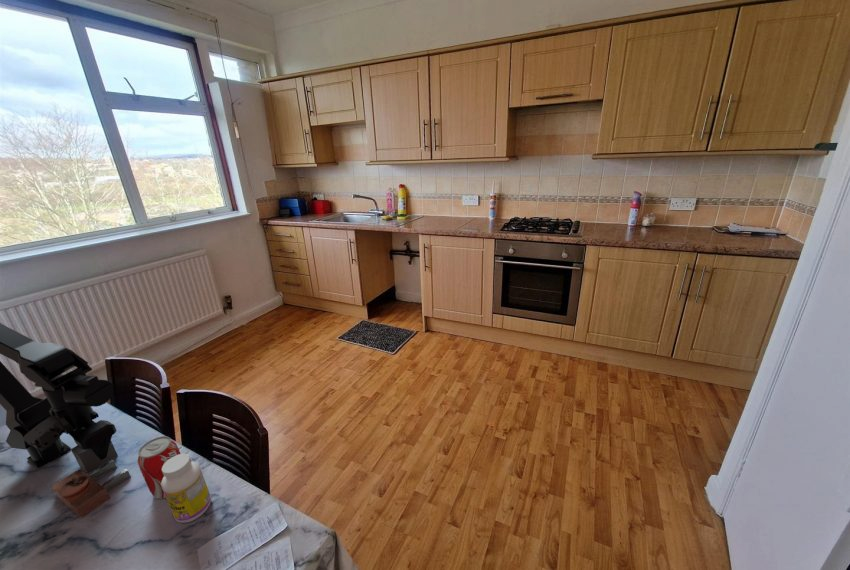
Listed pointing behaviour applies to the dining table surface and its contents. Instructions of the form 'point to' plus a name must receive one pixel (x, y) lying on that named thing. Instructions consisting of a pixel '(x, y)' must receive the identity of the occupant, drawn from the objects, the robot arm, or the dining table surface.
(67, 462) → the dining table surface
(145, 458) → the soda can
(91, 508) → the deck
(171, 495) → the supplement bottle
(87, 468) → the grey stepped block
